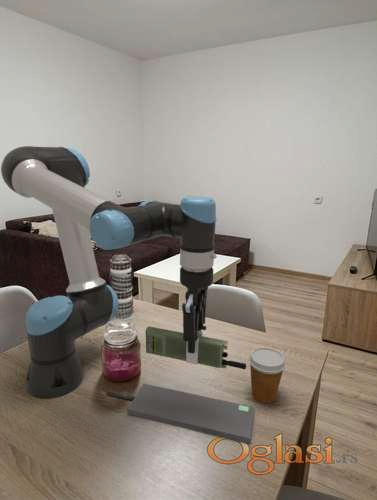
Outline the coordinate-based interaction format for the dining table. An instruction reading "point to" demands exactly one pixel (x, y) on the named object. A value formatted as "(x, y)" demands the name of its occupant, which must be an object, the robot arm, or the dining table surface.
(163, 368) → the dining table surface
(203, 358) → the handheld radio
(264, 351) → the disposable coffee cup
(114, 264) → the decorative candle
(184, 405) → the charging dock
